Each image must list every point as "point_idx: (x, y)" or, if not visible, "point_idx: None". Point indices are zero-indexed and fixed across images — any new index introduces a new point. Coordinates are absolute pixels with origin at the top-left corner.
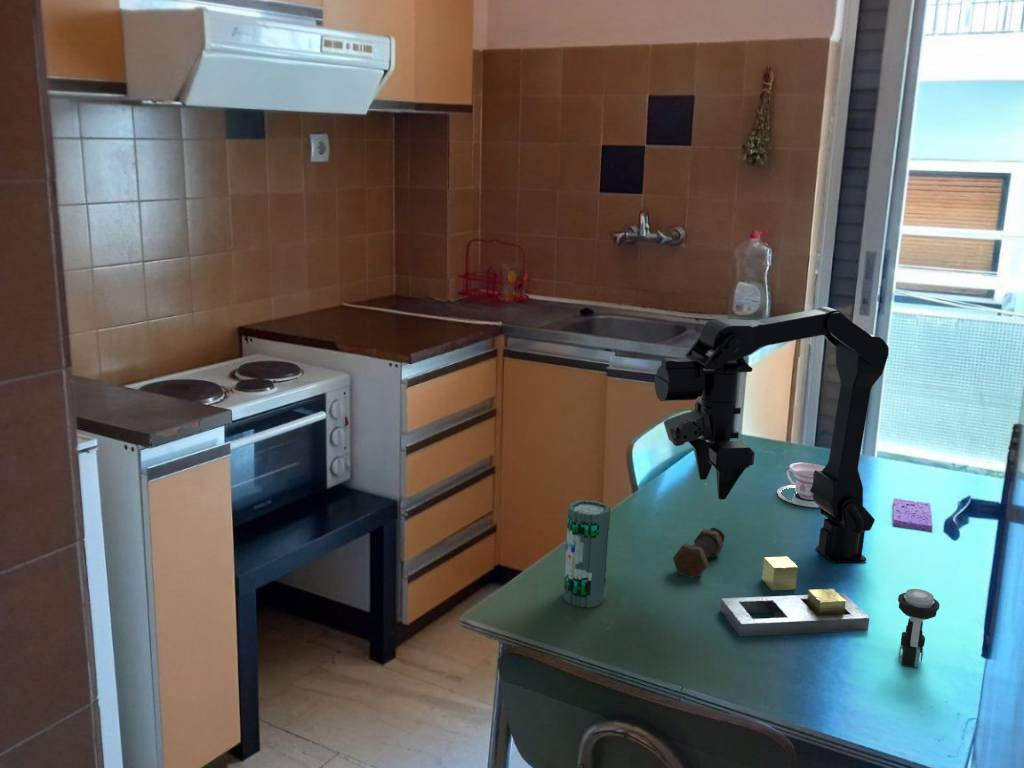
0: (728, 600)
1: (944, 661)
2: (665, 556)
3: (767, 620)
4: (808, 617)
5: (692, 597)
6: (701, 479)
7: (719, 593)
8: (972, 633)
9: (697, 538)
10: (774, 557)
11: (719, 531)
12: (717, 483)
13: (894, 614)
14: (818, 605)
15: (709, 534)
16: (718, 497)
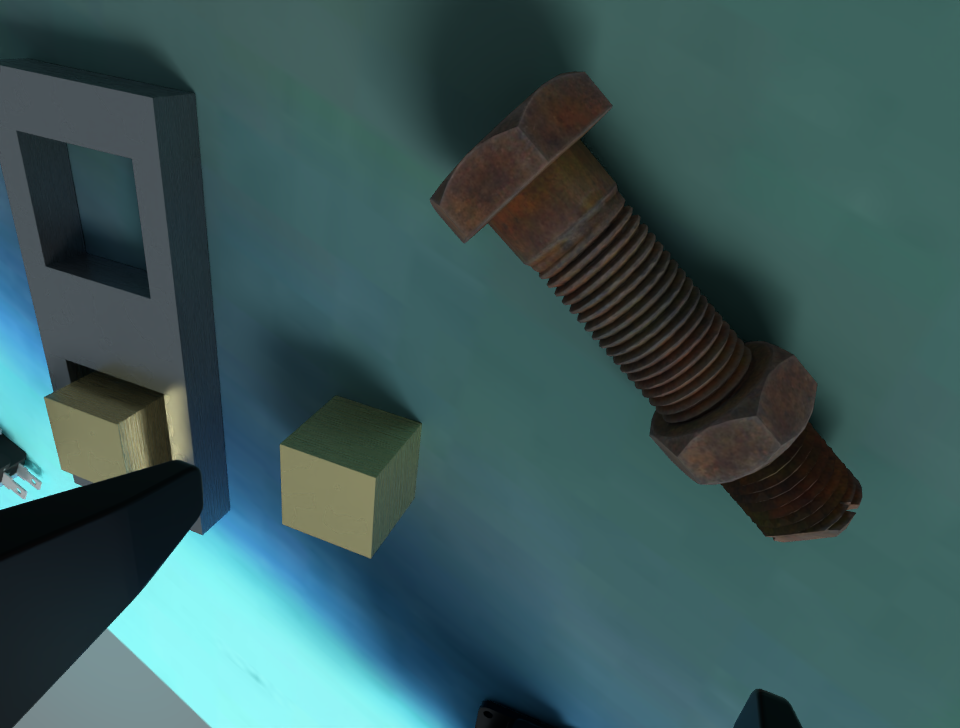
0: (138, 120)
1: (3, 495)
2: (801, 130)
3: (15, 179)
4: (54, 329)
5: (307, 25)
6: (752, 693)
7: (331, 181)
8: (115, 633)
9: (765, 370)
10: (368, 511)
11: (773, 526)
12: (8, 537)
13: (185, 577)
14: (70, 392)
15: (700, 427)
16: (179, 465)
